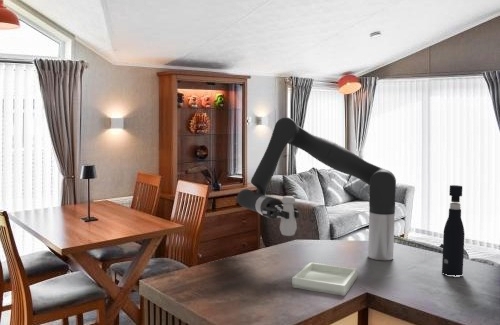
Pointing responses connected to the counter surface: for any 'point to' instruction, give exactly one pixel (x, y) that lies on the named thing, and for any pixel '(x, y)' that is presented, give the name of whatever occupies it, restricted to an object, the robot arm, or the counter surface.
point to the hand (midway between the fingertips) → (292, 215)
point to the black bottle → (453, 236)
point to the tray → (325, 278)
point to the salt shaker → (289, 224)
